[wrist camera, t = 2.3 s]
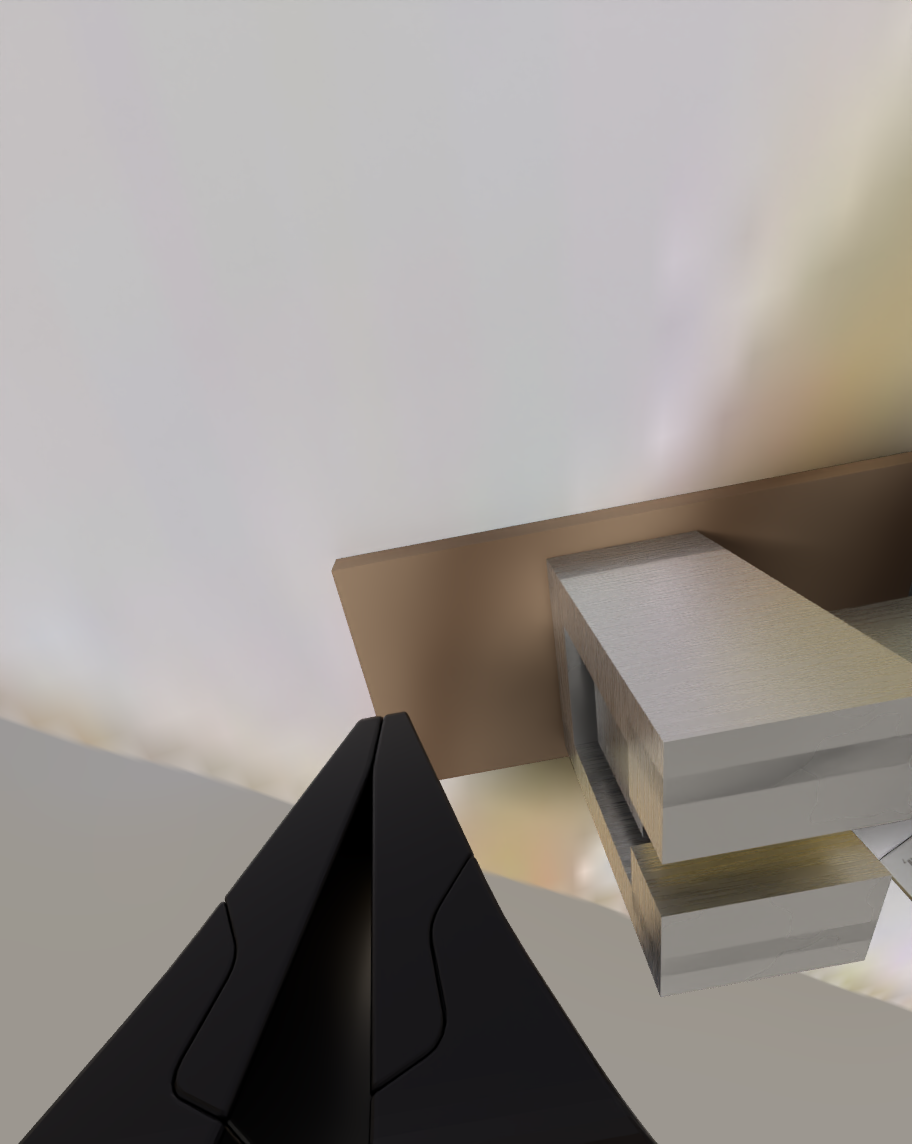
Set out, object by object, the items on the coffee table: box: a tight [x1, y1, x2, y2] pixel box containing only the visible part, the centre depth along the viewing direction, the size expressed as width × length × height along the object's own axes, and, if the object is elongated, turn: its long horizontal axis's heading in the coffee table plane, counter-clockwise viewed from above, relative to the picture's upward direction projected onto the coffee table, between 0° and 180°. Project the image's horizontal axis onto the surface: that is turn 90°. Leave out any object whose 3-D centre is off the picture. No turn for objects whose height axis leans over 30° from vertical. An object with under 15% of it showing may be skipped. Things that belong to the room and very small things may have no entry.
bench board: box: [332, 451, 912, 780], centre depth 14 cm, size 20×8×1 cm, turn 100°
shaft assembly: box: [594, 583, 912, 837], centre depth 11 cm, size 13×5×6 cm, turn 100°
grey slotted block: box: [546, 531, 912, 997], centre depth 11 cm, size 4×7×7 cm, turn 10°
